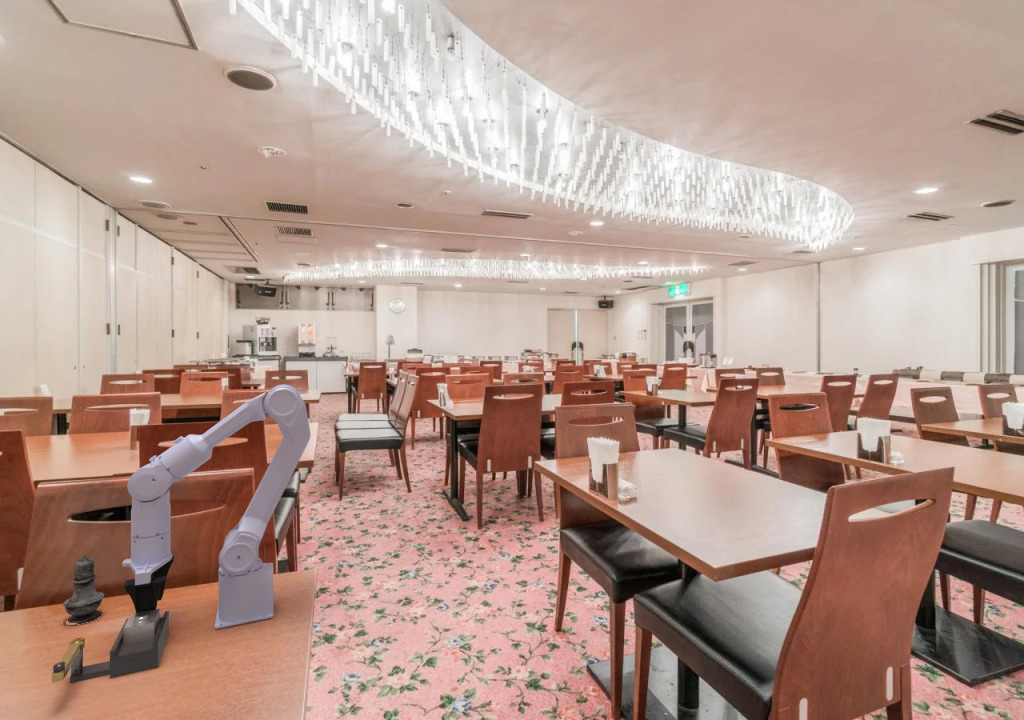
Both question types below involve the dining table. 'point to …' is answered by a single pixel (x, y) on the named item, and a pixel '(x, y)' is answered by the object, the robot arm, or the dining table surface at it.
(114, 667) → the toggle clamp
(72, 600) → the grey tall flared piece
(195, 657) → the dining table surface
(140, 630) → the knobbed drawer block
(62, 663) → the lever
